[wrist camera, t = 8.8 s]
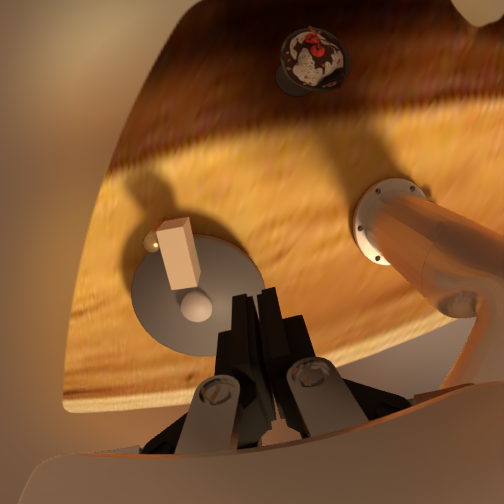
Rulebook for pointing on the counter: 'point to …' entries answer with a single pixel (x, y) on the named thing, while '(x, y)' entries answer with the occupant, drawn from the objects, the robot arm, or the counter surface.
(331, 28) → the counter surface
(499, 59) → the counter surface
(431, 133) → the counter surface
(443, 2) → the counter surface
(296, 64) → the sundae
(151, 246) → the brown rounded oblong piece
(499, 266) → the robot arm
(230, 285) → the disc
